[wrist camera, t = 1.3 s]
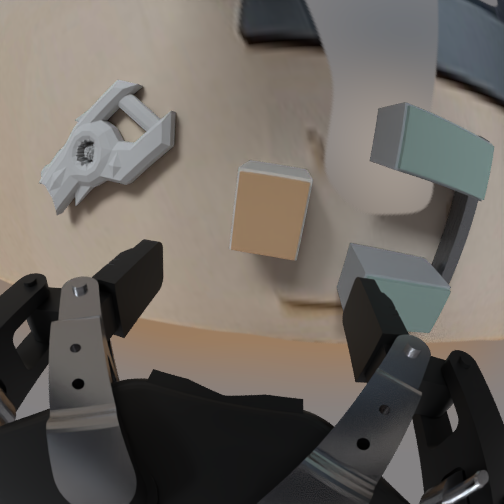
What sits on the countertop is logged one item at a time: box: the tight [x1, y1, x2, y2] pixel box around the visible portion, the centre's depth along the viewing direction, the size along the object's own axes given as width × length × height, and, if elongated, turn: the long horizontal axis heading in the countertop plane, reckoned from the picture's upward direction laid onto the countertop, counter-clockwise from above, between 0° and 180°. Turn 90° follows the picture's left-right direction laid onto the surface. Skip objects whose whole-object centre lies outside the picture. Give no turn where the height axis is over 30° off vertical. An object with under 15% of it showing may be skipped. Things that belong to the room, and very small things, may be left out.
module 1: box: [229, 160, 313, 260], centre depth 21 cm, size 6×5×6 cm
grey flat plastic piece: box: [39, 80, 176, 215], centre depth 23 cm, size 18×4×10 cm
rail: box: [432, 136, 489, 284], centre depth 21 cm, size 20×3×2 cm, turn 172°
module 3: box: [337, 243, 451, 333], centre depth 23 cm, size 5×9×6 cm, turn 82°
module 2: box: [370, 103, 494, 201], centre depth 17 cm, size 5×9×6 cm, turn 82°
